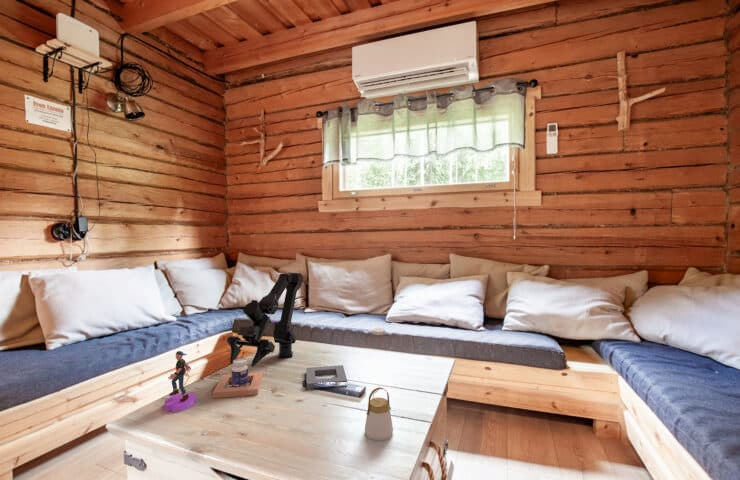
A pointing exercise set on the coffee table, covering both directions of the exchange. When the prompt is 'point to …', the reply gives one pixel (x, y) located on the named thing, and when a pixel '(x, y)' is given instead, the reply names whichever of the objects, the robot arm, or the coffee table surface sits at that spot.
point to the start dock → (324, 370)
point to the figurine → (182, 399)
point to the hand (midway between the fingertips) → (241, 365)
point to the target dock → (223, 391)
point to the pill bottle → (239, 373)
